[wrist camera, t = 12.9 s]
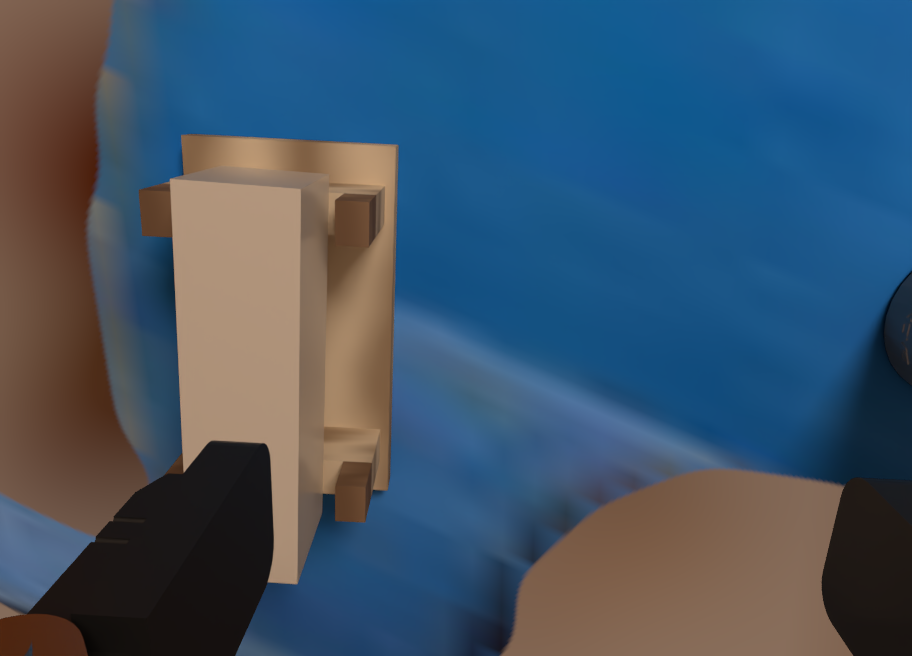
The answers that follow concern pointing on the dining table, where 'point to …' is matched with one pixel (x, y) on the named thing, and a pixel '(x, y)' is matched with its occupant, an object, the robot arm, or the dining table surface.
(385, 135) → the dining table surface
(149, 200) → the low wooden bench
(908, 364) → the robot arm
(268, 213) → the beige long block
